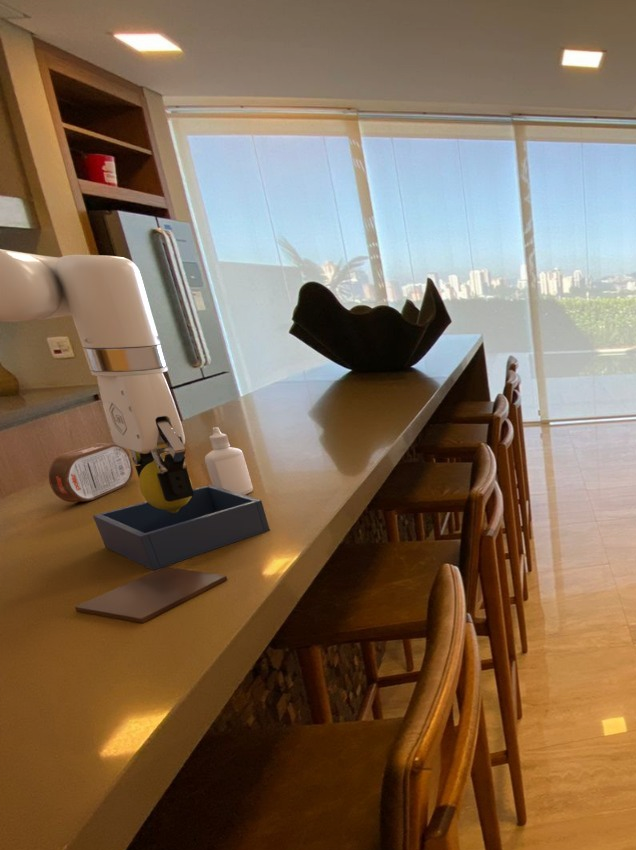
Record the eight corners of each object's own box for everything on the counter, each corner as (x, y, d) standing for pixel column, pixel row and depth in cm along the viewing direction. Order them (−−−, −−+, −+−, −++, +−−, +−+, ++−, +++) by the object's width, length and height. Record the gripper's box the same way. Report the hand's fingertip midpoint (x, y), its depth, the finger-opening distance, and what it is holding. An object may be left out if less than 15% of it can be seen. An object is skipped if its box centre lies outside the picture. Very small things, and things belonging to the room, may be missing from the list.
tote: (153, 570, 72) (140, 536, 70) (105, 547, 79) (92, 515, 77) (270, 530, 84) (261, 500, 82) (219, 512, 91) (210, 484, 89)
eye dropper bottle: (257, 494, 99) (237, 426, 94) (218, 502, 95) (196, 432, 91) (251, 488, 102) (232, 422, 97) (214, 496, 98) (192, 428, 94)
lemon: (190, 503, 83) (174, 450, 80) (205, 511, 80) (189, 457, 77) (143, 514, 79) (125, 459, 76) (157, 523, 76) (139, 466, 73)
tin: (125, 480, 107) (109, 437, 104) (143, 480, 107) (127, 436, 104) (58, 509, 93) (37, 460, 90) (78, 508, 93) (58, 459, 90)
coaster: (142, 623, 61) (140, 618, 60) (76, 611, 63) (74, 606, 63) (227, 579, 70) (226, 575, 69) (166, 570, 72) (164, 566, 72)
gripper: (62, 359, 73) (108, 491, 79) (120, 368, 65) (166, 514, 71) (133, 354, 79) (171, 477, 86) (194, 362, 71) (230, 497, 78)
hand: (168, 493), depth 78 cm, fingers closed on lemon, 5 cm apart
